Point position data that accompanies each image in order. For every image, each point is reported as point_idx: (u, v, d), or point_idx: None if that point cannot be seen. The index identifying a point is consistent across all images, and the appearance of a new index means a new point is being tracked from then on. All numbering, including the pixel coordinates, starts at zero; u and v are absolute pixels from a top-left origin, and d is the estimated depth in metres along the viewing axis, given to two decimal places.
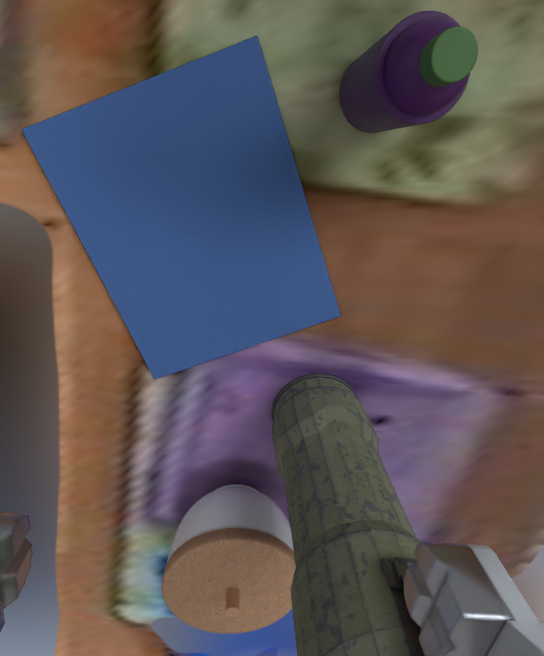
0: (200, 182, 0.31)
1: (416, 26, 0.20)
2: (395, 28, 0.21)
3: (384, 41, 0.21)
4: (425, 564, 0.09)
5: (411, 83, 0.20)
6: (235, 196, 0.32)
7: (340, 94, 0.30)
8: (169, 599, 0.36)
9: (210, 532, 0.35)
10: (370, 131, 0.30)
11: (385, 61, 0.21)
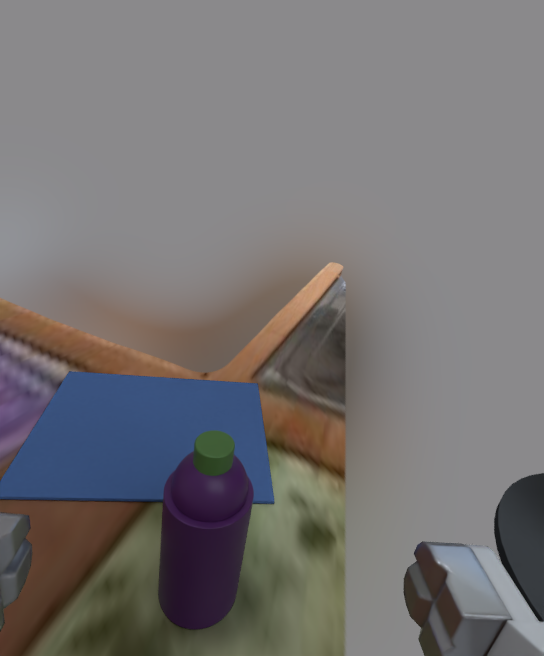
0: (190, 439, 0.40)
1: (243, 467, 0.24)
2: (247, 476, 0.25)
3: None
4: (425, 564, 0.09)
5: None
6: (168, 453, 0.38)
7: None
8: None
9: None
10: None
11: None
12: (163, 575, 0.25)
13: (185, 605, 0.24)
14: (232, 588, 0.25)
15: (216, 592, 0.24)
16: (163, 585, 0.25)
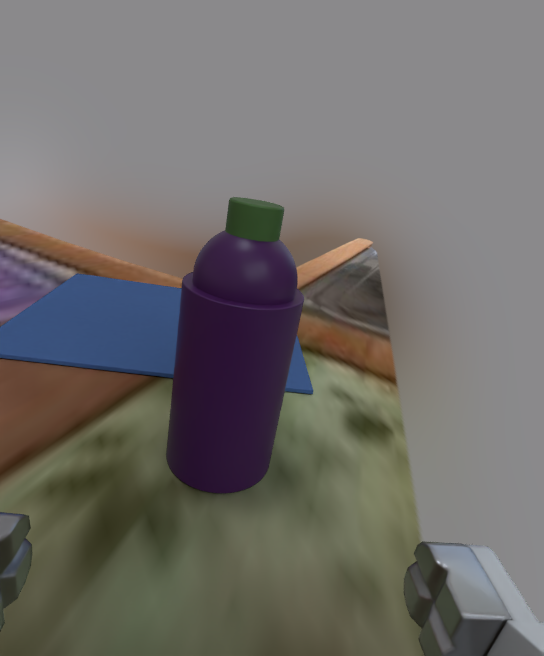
0: None
1: None
2: None
3: None
4: (425, 564, 0.09)
5: None
6: None
7: None
8: None
9: None
10: None
11: None
12: (175, 410, 0.18)
13: (204, 449, 0.18)
14: (267, 439, 0.19)
15: (246, 432, 0.17)
16: (174, 426, 0.18)
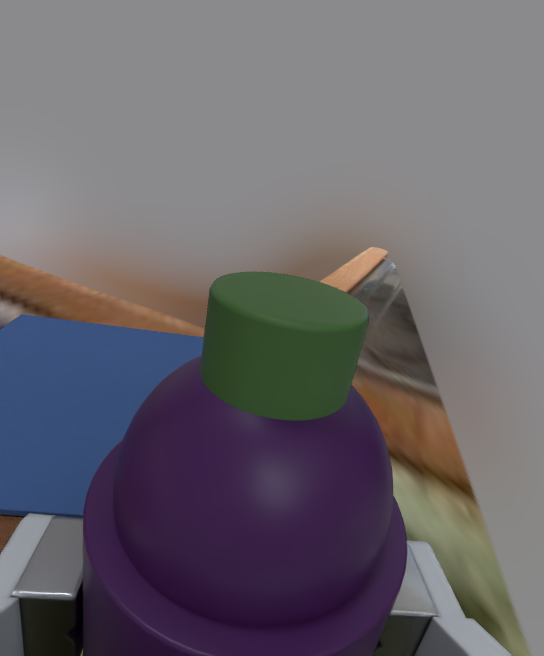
0: None
1: None
2: None
3: None
4: None
5: None
6: None
7: None
8: None
9: None
10: None
11: None
12: None
13: None
14: None
15: None
16: None
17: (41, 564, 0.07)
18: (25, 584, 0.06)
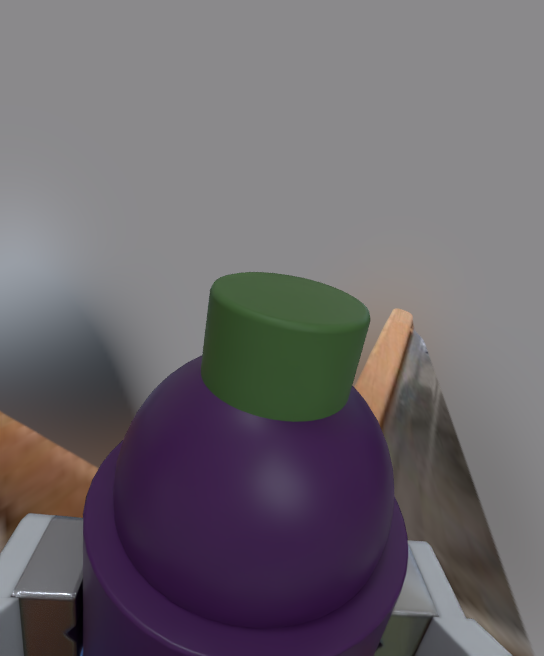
0: None
1: None
2: None
3: None
4: None
5: None
6: None
7: None
8: None
9: None
10: None
11: None
12: None
13: None
14: None
15: None
16: None
17: (41, 564, 0.07)
18: (25, 584, 0.06)
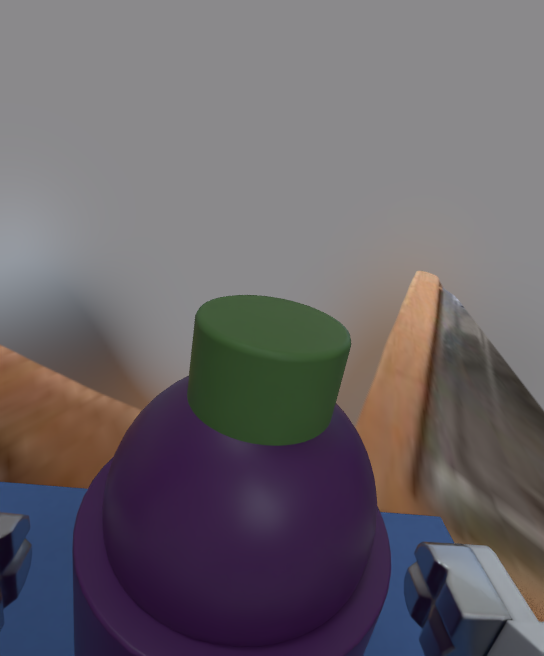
0: None
1: None
2: None
3: None
4: (425, 564, 0.09)
5: None
6: None
7: None
8: None
9: None
10: None
11: None
12: None
13: None
14: None
15: None
16: None
17: None
18: None
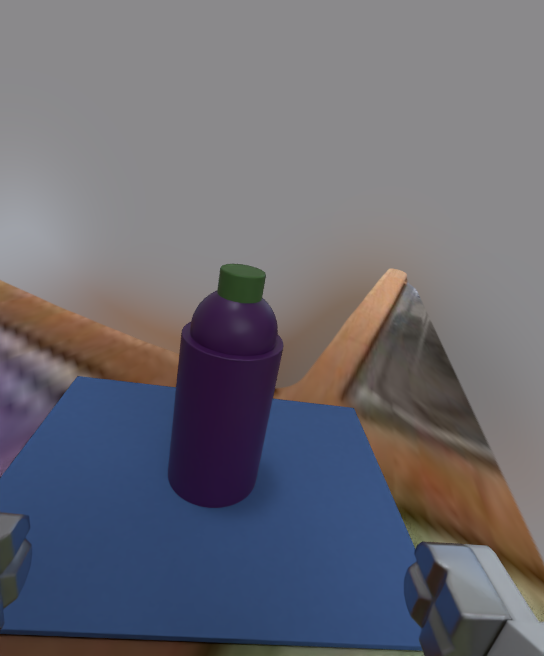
0: (273, 499, 0.23)
1: None
2: None
3: None
4: (425, 564, 0.09)
5: None
6: (241, 529, 0.21)
7: None
8: None
9: None
10: None
11: None
12: (175, 438, 0.22)
13: (199, 471, 0.21)
14: (253, 462, 0.22)
15: (235, 458, 0.21)
16: (174, 451, 0.22)
17: None
18: None
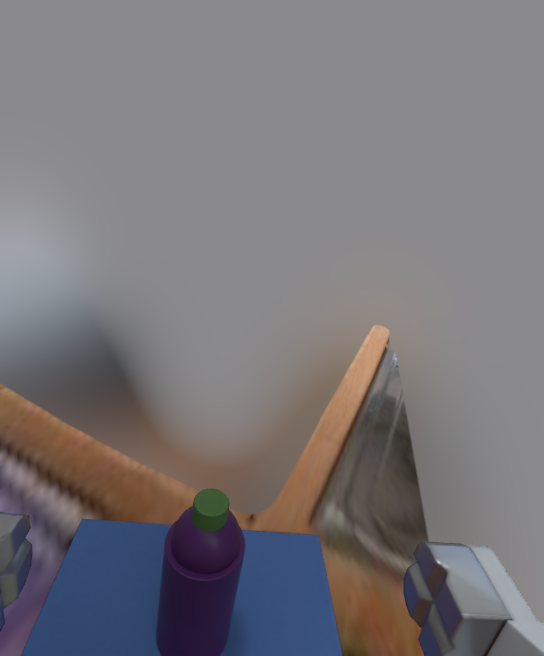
0: None
1: (237, 522, 0.27)
2: (240, 530, 0.28)
3: None
4: (425, 564, 0.09)
5: None
6: None
7: None
8: None
9: None
10: None
11: None
12: (161, 618, 0.27)
13: (179, 648, 0.27)
14: (223, 634, 0.28)
15: (207, 638, 0.26)
16: (160, 627, 0.27)
17: None
18: None
